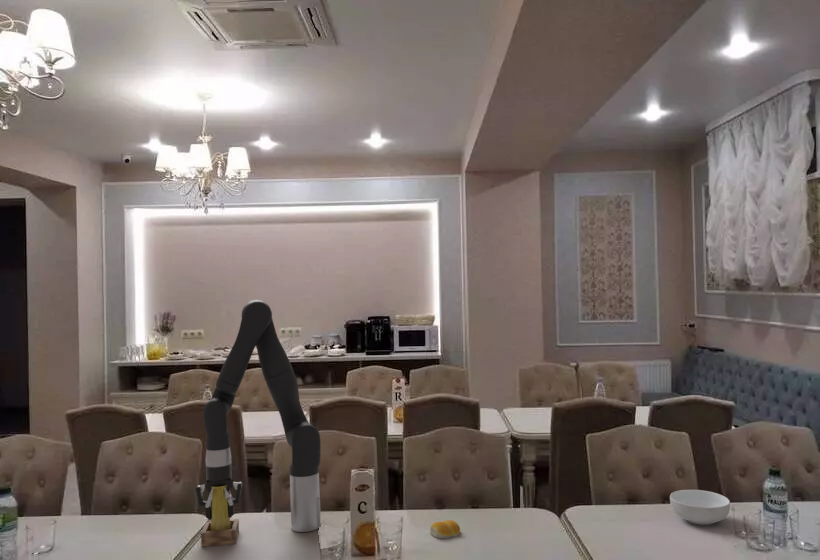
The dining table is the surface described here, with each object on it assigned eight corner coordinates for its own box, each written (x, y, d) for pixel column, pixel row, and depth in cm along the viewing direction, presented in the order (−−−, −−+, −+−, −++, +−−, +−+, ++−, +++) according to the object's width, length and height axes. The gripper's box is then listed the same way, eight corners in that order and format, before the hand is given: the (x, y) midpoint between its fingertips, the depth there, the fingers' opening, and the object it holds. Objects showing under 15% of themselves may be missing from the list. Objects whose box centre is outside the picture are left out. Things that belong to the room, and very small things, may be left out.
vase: (224, 535, 192) (223, 487, 192) (206, 534, 193) (205, 487, 194) (234, 527, 198) (233, 481, 198) (216, 527, 199) (215, 481, 200)
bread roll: (465, 535, 192) (464, 521, 192) (439, 541, 188) (439, 527, 188) (450, 526, 200) (450, 514, 200) (425, 532, 195) (425, 519, 196)
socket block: (238, 531, 201) (238, 518, 201) (235, 543, 192) (235, 530, 192) (206, 534, 200) (205, 521, 200) (201, 546, 190) (200, 533, 190)
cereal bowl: (670, 527, 192) (669, 503, 192) (670, 509, 208) (669, 487, 208) (733, 533, 186) (732, 508, 186) (728, 514, 201) (727, 491, 202)
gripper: (243, 457, 201) (245, 511, 201) (196, 461, 199) (197, 516, 198) (241, 464, 194) (243, 519, 193) (192, 467, 191) (193, 524, 191)
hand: (220, 517), depth 196 cm, fingers closed on vase, 5 cm apart
